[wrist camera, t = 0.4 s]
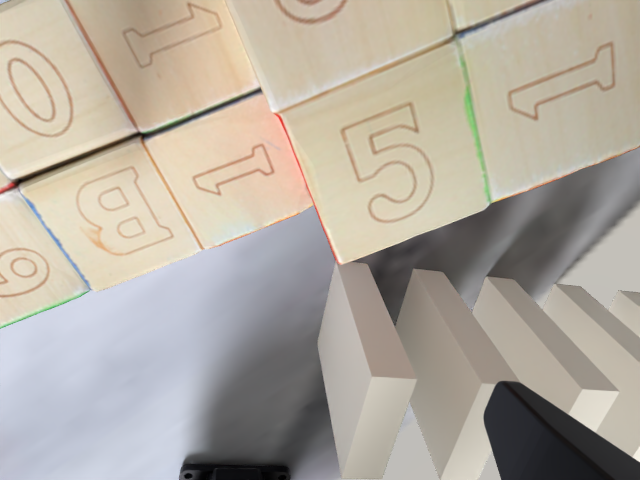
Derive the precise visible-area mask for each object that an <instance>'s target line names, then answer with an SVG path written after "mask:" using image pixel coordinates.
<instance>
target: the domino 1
mask: <svg viewBox="0 0 640 480" xmlns="http://www.w3.org/2000/svg"><path fill="white" fill-rule="evenodd" d="M317 345H318V350H319V356H320V361H321V367H322V373H323V378H324V384H325V389H326V395H327V400H328V406H329V412H330V417H331V423H332V428H333V434H334V439H335V445H336V451H337V456H338V462H339V467H340V473H341V479H382V478H383V475H384V472H385V469H386V467H387V463H388V461H389V458H390V455H391V452H392V449H393V447H394V444H395V441H396V438H397V435H398V433H399V430H400V427H401V424H402V421H403V418H404V416H405V413H406V410H407V407H408V404H409V401H410V398H411V396H412V393H413V390H414V387H415V384H416V381H417V378H416V375H415V373H414V371H413V368H412V366H411V364H410V361H409V359H408V357H407V354H406V352H405V350H404V347H403V345H402V343H401V341H400V338H399V336H398V334H397V331H396V329H395V327H394V324H393V322H392V320H391V317H390V315H389V313H388V310H387V308H386V306H385V304H384V301H383V299H382V297H381V294H380V292H379V290H378V287H377V285H376V283H375V280H374V278H373V276H372V273H371V271H370V269H369V266H368V264H366V263H356V262H348V263H345V264H342V265H340V264H338V263H337V261H335V265H334V270H333V274H332V279H331V283H330V288H329V292H328V297H327V301H326V305H325V310H324V314H323V319H322V323H321V328H320V332H319V337H318V341H317Z"/></svg>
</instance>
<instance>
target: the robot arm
mask: <svg viewBox="0 0 640 480" xmlns="http://www.w3.org/2000/svg"><path fill="white" fill-rule="evenodd" d="M483 420H484V426H485V429H486V432H487V435H488V438H489V442H490V445H491V448H492V451H493V454H494V457H495V460H496V464H497V467H498V470H499V474H500V477H501V480H640V462H639V461H637V460H636V459H634V458H633V457H631V456H630V455H628V454H627V453H625V452H624V451H622V450H621V449H619V448H618V447H616V446H615V445H613V444H612V443H610V442H609V441H607V440H606V439H604V438H603V437H601V436H600V435H598V434H597V433H595V432H594V431H592V430H591V429H589V428H588V427H586V426H585V425H583V424H582V423H580V422H579V421H577V420H576V419H574V418H573V417H571V416H570V415H568V414H567V413H565V412H564V411H562V410H561V409H559V408H558V407H556V406H555V405H553V404H552V403H550V402H549V401H547V400H546V399H544V398H543V397H541V396H540V395H538V394H537V393H535V392H534V391H532V390H531V389H529V388H528V387H526V386H525V385H523V384H522V383H520V382H516V381H499V382H498V383H497V384H496V385H495V387H494V389H493V392H492V394H491V396H490V399H489V401H488V403H487V406H486V408H485V411H484V416H483ZM179 480H290V469H289V468H288V467H285V466H250V465H201V464H188V465H184V466H183V467H181V470H180V475H179Z"/></svg>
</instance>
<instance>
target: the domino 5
mask: <svg viewBox="0 0 640 480" xmlns="http://www.w3.org/2000/svg"><path fill="white" fill-rule="evenodd" d="M608 311H609V312H611V313H612V314H613V315H614V316H615V317H616V318H618V319H619V320H620V321H621V322H622V323H623V324H625V325H626V326H627V327H628V328H629V329H630V330H632V331H633V332H634V333H635V334H636V335H637V336H639V337H640V293H638V292H628V291H618V292H617V294H616V296H615V298H614V300H613V301H612V303H611V305H610V307H609V309H608Z"/></svg>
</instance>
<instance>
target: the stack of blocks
mask: <svg viewBox="0 0 640 480" xmlns="http://www.w3.org/2000/svg"><path fill="white" fill-rule="evenodd" d="M638 147H640V0H9V1H7V2H4V3H2V4H0V329H1V328H3V327H5V326H8V325H10V324H13V323H16V322H18V321H21V320H23V319H26V318H28V317H31V316H33V315H36V314H38V313H41V312H43V311H46V310H49V309H51V308H54V307H57V306H59V305H62V304H64V303H66V302H69V301H71V300H73V299H75V298H78V297H81V296H82V295H84V294H85V293H87V292H88V291H90V290H93V291H96V292H98V291H101V290H105V289H108V288H110V287H113V286H115V285H117V284H120V283H122V282H125V281H128V280H130V279H133V278H136V277H138V276H141V275H144V274H146V273H149V272H151V271H154V270H156V269H158V268H161V267H163V266H166V265H168V264H171V263H173V262H176V261H179V260H182V259H185V258H187V257H190V256H192V255H195V254H197V253H199V252H200V251H202V250H203V249H210V248H214V247H218V246H221V245H223V244H225V243H227V242H230V241H233V240H236V239H238V238H241V237H243V236H246V235H248V234H251V233H253V232H256V231H258V230H260V229H263V228H265V227H267V226H270V225H272V224H275V223H277V222H280V221H282V220H285V219H287V218H290V217H292V216H295V215H297V214H299V213H301V212H303V211H304V210H306V209H308V208H310V207H311V206H313V205H314V206H315V209H316V211H317V214H318V217H319V219H320V222H321V225H322V227H323V230H324V232H325V234H326V237H327V239H328V242H329V244H330V247H331V250H332V252H333V255H334V257H335V260H336V261H337V263H338V264H340V265H342V264H345V263H348V262H351V261H354V260H357V259H359V258H362V257H364V256H367V255H370V254H372V253H375V252H377V251H380V250H382V249H385V248H388V247H390V246H393V245H395V244H398V243H401V242H403V241H406V240H408V239H410V238H412V237H415V236H417V235H420V234H423V233H426V232H428V231H431V230H434V229H437V228H440V227H442V226H445V225H447V224H450V223H452V222H455V221H457V220H460V219H463V218H465V217H468V216H470V215H473V214H475V213H478V212H480V211H483V210H485V209H486V208H487V207H488V206H489V205H490V204H491V203H493V202H496V201H499V200H502V199H505V198H508V197H511V196H514V195H517V194H520V193H523V192H526V191H529V190H532V189H534V188H537V187H539V186H542V185H544V184H547V183H550V182H552V181H555V180H557V179H560V178H562V177H565V176H567V175H570V174H572V173H574V172H576V171H578V170H580V169H583V168H586V167H590V166H593V165H596V164H598V163H601V162H604V161H606V160H609V159H612V158H614V157H617V156H620V155H622V154H624V153H627V152H629V151H632V150H634V149H636V148H638Z"/></svg>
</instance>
